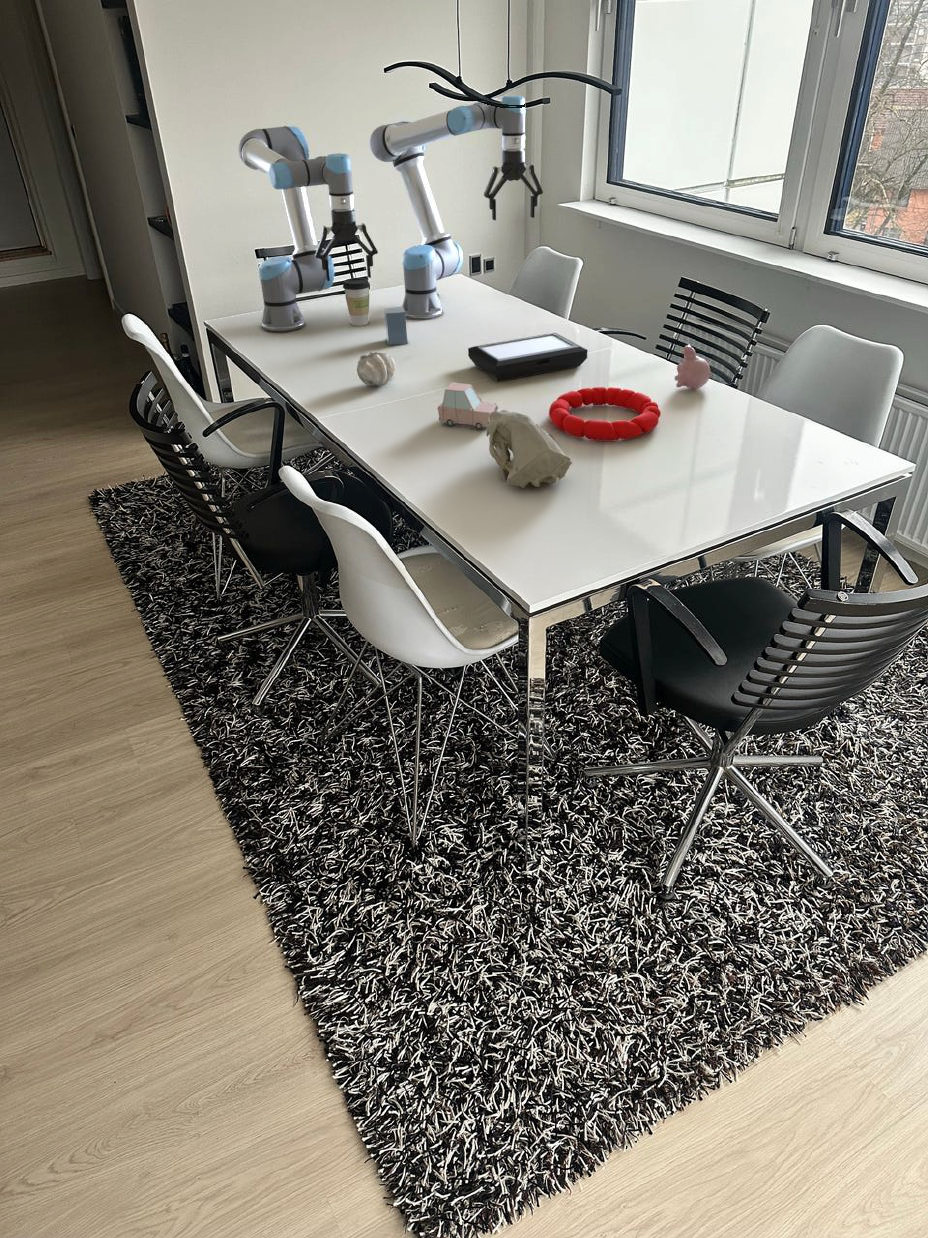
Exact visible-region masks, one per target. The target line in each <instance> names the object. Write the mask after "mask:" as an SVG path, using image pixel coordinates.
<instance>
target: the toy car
mask: <svg viewBox="0 0 928 1238" xmlns="http://www.w3.org/2000/svg"><path fill="white" fill-rule="evenodd" d="M498 409H499V404H498V403H497V402H490V401H489V402H487V401H483V397H481V396H480V395H479V394H478V393H477V391H476V390H475V389H474V386H472V384H469V383H459V382H451V383H450V384H449V385H448V386H447V387H446V388H445V389H444V394H443V399H442V403H440V404H439V405H438V406H437V413H438V421H439V422H443V423H446V425H447V426H448V427H452V426H454V425H455V424H461V425H469V426H473V427H475V429H476V430H479V431H480V430H481V429H483V428H485V427H486V428H487V423H488V422H490V414H491V413H492V412H496V411H499V410H498Z"/></svg>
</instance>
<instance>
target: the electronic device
mask: <svg viewBox="0 0 928 1238" xmlns="http://www.w3.org/2000/svg"><path fill="white" fill-rule="evenodd" d="M467 353H468V354H467V355H468V358H469V359H470V360H471V361H472V363H473V364H474V366H475V367H477V368H478V369H479V370H481V371H483V372H484V373H486V374H487V375H489V376H490V377H491V378H493V379H494V380H496V381H497V382H500V381H507V380H511V379H517V378H522V377H528V376H534V375H539V374H544V373H550V372H555V371H561V370H567V369H571V368H578V367H580V366H582V365H583V363H584V362H585V361H586V360H587V359H588V349H586V348H585V347H583V346H581V345H579V344H578V343H576V342H574V341H572V340H570V339H568V338H566V337H565V336H562V335H560V333H557V332H551V333H545V334H539V335H533V336H528V337H522V338H515V339H509V340H505V341H497V342H492V343H485V344H481V345H475V346H474V345H473V346H471V347H468V349H467Z"/></svg>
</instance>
